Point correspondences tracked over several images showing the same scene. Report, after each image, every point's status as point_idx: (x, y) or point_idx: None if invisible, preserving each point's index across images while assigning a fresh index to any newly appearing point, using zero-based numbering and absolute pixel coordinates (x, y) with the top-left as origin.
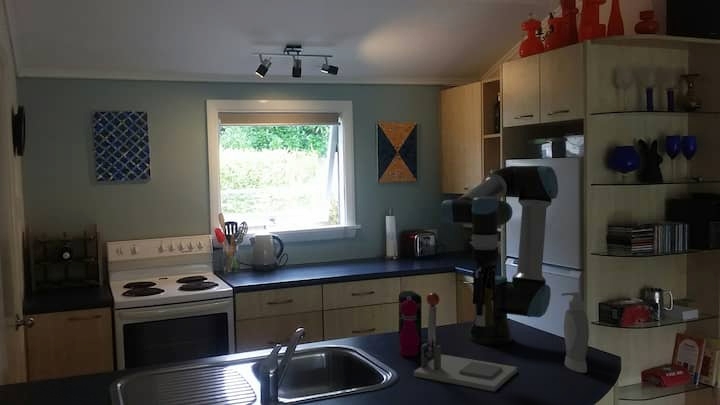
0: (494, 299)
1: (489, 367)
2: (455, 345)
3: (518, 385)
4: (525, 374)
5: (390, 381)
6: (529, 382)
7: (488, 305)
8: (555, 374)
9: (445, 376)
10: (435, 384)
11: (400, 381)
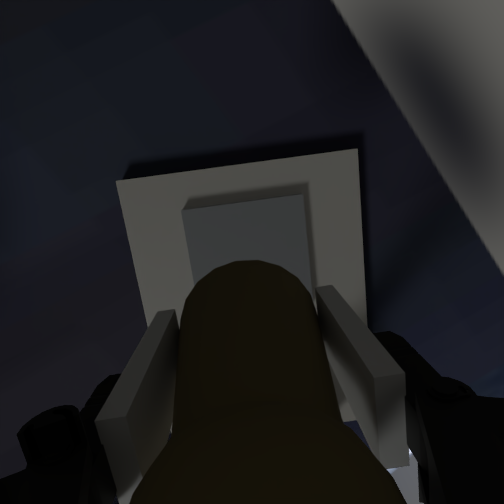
0: (76, 413)
1: (218, 244)
2: None
3: (247, 110)
4: (125, 142)
5: None
6: (194, 90)
7: (298, 361)
8: (44, 45)
9: None
10: (393, 325)
11: None
